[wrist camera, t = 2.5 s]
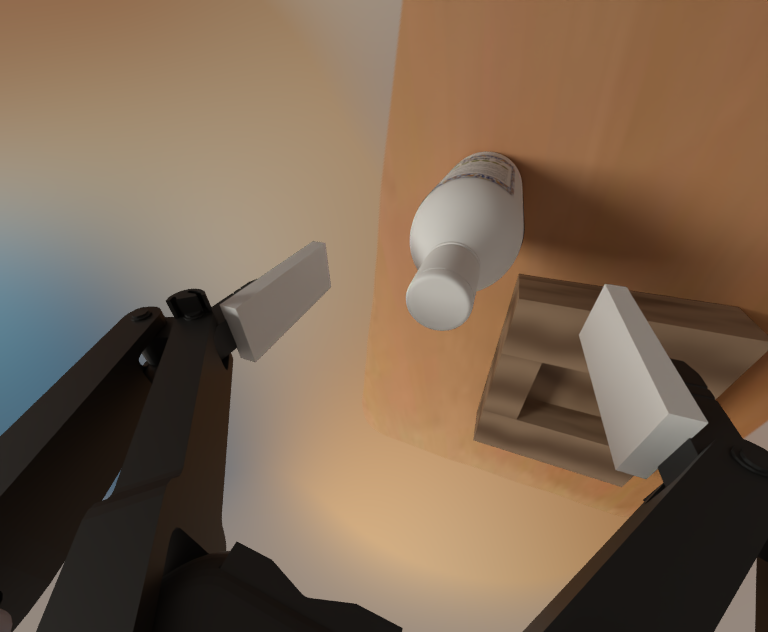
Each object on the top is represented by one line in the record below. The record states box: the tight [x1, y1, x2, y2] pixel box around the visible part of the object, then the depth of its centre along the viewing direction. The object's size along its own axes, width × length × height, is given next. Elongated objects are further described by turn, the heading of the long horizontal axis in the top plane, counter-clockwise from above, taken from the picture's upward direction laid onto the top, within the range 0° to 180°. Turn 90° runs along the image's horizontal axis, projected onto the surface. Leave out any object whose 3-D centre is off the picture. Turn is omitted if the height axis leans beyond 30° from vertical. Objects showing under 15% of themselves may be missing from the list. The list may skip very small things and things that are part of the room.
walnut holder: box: [473, 274, 768, 487], centre depth 33 cm, size 24×18×5 cm
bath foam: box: [406, 152, 524, 331], centre depth 20 cm, size 7×7×20 cm
